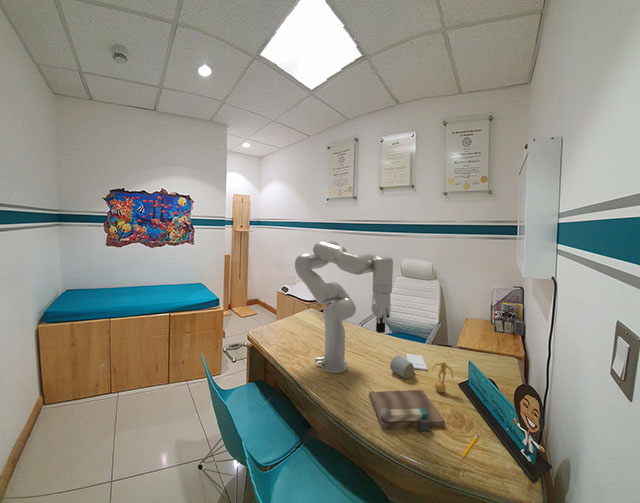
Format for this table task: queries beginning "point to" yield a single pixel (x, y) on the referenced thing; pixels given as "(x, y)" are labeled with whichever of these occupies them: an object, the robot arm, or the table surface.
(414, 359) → the external hard drive
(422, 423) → the leg stop
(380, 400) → the brown wooden board
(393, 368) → the grey cylinder
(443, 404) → the table surface
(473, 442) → the pencil
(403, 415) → the stool leg
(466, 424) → the table surface
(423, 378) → the table surface
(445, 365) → the figurine
